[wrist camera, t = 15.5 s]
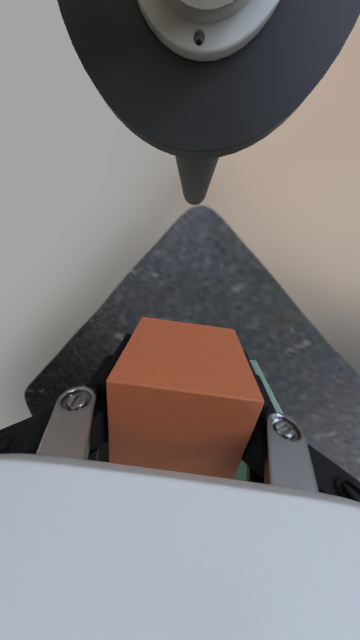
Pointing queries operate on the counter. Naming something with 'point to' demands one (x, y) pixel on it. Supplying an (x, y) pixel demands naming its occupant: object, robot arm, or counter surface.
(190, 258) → the counter surface
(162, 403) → the block
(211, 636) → the robot arm
